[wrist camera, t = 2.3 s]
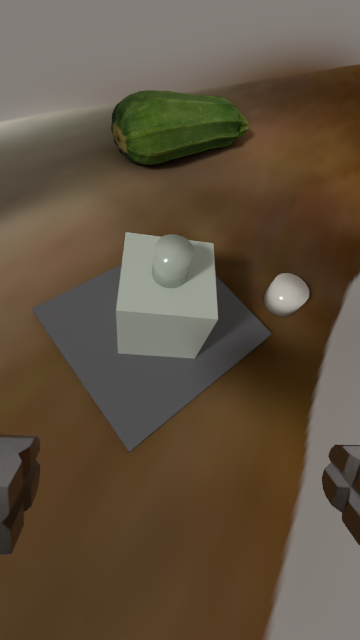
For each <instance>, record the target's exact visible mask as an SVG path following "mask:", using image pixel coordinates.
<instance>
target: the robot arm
mask: <svg viewBox="0 0 360 640" xmlns="http://www.w3.org/2000/svg"><path fill="white" fill-rule="evenodd" d="M39 451H40V440H39V438H38V437H37V436H23V435H3V434H0V555H11V554H12V551H13V549H14V547H15V544H16V542H17V540H18V537H19V535H20V532H21V530H22V528H23V525H24V512H25V511H27V510H28V509H29V508H30V507H31V506H32V503H33V501H34V498H35V496H36V492H37V488H38V484H39V478H40V464H39V463H38V461H37V460H36V457H37V455H38V453H39ZM329 458H330V461H331V463H330V464H329V465H328V466H327V467H326V468H325V469H324V472H323V476H322V484H323V490H324V492H325V495H326V497H327V499H328V500H329V502H330V503H331V505H332V506H334V507H335V508H336V509H338V510H339V511H340V512H342V521H343V522H344V524H345V525H346V527H347V528H348V530H349V531H350V533H351V534H352V535H353V537H354V539H355V540H356V541H357V543H358V544H359V545H360V445H334V447H332V448H331V450H330V453H329Z"/></svg>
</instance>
